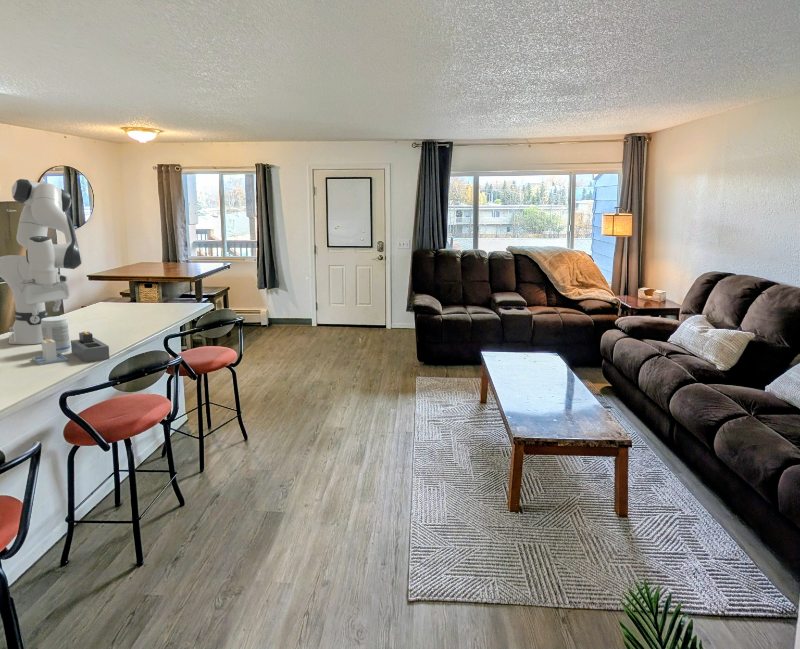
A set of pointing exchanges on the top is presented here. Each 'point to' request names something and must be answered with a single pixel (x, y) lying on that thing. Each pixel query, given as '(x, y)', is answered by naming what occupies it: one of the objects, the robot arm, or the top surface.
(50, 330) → the supplement tub
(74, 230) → the robot arm
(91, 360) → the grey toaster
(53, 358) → the white orange-striped block
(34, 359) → the slate tray
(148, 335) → the top surface
